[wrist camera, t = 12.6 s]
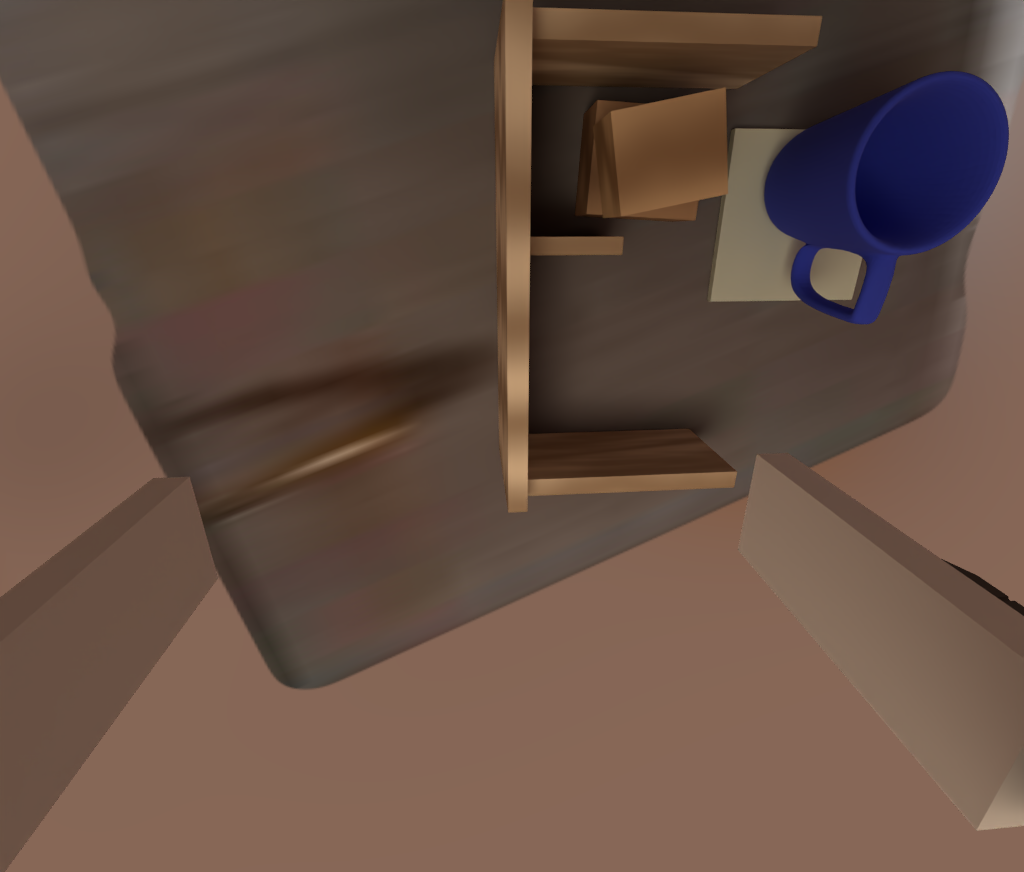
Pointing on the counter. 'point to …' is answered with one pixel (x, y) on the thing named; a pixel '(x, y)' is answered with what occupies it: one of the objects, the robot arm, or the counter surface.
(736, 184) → the sage tile
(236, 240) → the counter surface
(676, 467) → the rack
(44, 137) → the counter surface
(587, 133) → the offcut walnut
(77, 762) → the robot arm
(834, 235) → the mug
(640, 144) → the offcut oak
